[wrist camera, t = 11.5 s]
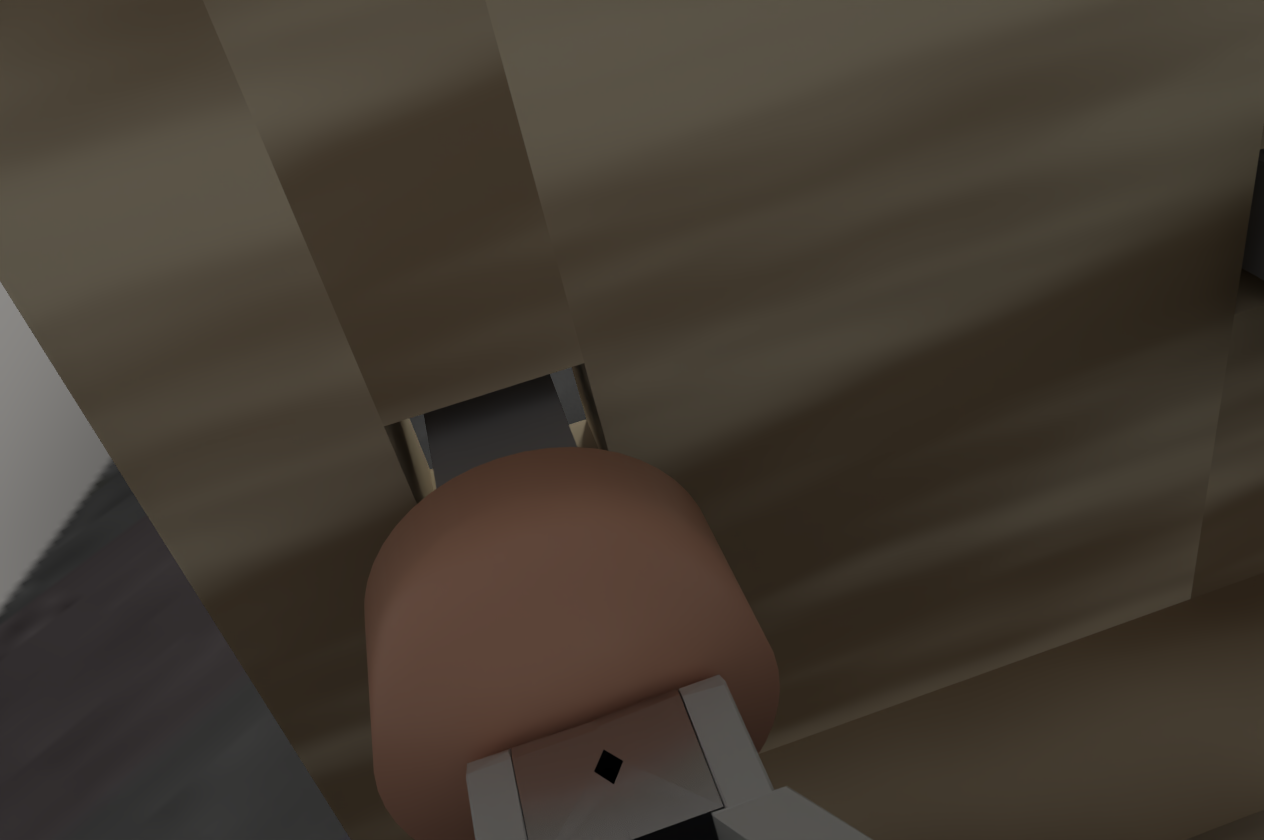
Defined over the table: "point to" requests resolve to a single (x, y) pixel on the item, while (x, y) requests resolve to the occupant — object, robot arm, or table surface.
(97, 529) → the table surface
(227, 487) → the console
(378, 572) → the button terracotta
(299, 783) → the table surface
